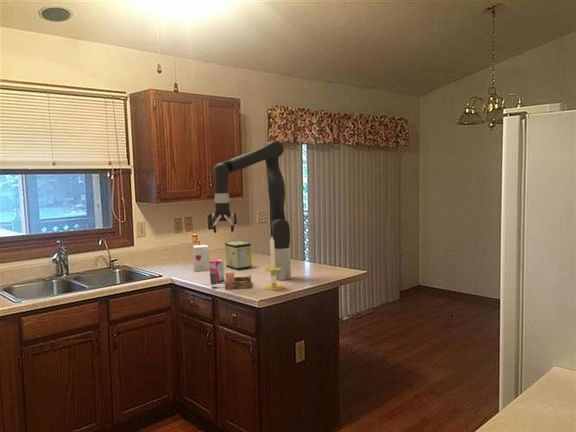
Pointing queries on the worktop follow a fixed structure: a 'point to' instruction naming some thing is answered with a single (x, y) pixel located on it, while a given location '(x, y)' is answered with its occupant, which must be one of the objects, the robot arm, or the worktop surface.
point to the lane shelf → (239, 283)
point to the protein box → (238, 255)
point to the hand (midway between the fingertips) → (223, 232)
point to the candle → (273, 269)
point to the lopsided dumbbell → (228, 277)
